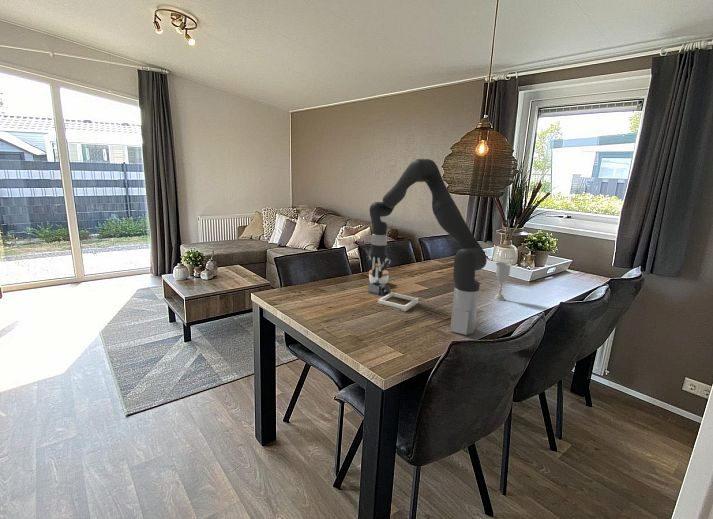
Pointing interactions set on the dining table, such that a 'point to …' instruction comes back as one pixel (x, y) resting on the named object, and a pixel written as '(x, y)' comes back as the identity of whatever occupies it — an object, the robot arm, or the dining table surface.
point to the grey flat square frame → (402, 307)
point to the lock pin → (376, 274)
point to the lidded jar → (382, 279)
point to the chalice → (502, 277)
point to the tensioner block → (378, 289)
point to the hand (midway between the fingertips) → (377, 277)
